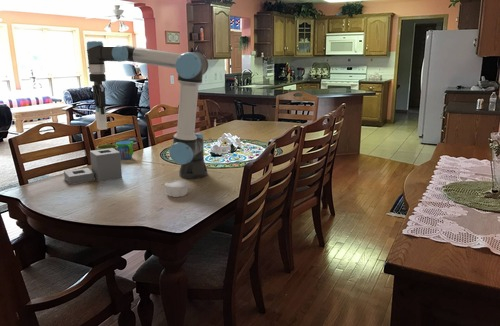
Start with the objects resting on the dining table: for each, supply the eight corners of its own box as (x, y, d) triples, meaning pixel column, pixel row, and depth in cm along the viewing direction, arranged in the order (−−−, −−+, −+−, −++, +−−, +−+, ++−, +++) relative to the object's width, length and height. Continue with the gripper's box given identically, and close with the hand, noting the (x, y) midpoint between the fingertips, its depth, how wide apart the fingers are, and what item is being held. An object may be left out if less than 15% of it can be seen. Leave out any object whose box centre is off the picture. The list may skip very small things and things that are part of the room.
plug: (107, 129, 208) (105, 107, 205) (99, 129, 206) (97, 108, 203) (104, 127, 211) (103, 106, 208) (97, 128, 209) (95, 107, 206)
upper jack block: (122, 177, 214) (119, 152, 210) (98, 181, 207) (96, 155, 203) (114, 172, 223) (112, 147, 220) (92, 176, 217) (89, 150, 213)
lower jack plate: (94, 180, 210) (93, 172, 209) (70, 184, 203) (69, 176, 202) (88, 174, 219) (87, 167, 218) (64, 178, 212) (63, 171, 211)
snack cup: (112, 156, 257) (111, 141, 254) (128, 154, 263) (127, 139, 261) (122, 161, 245) (121, 145, 242) (138, 159, 252) (137, 143, 249)
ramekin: (178, 188, 198) (177, 178, 197) (194, 193, 192) (193, 182, 190) (160, 194, 190) (159, 183, 189) (175, 199, 183) (175, 188, 182)
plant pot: (97, 168, 231) (95, 149, 228) (98, 163, 242) (97, 144, 239) (118, 167, 234) (117, 148, 231) (119, 162, 245) (118, 143, 242)
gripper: (84, 72, 205) (89, 118, 212) (94, 74, 192) (98, 123, 198) (99, 72, 210) (103, 117, 216) (110, 74, 196) (114, 121, 203)
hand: (101, 119), depth 207 cm, fingers closed on plug, 4 cm apart
